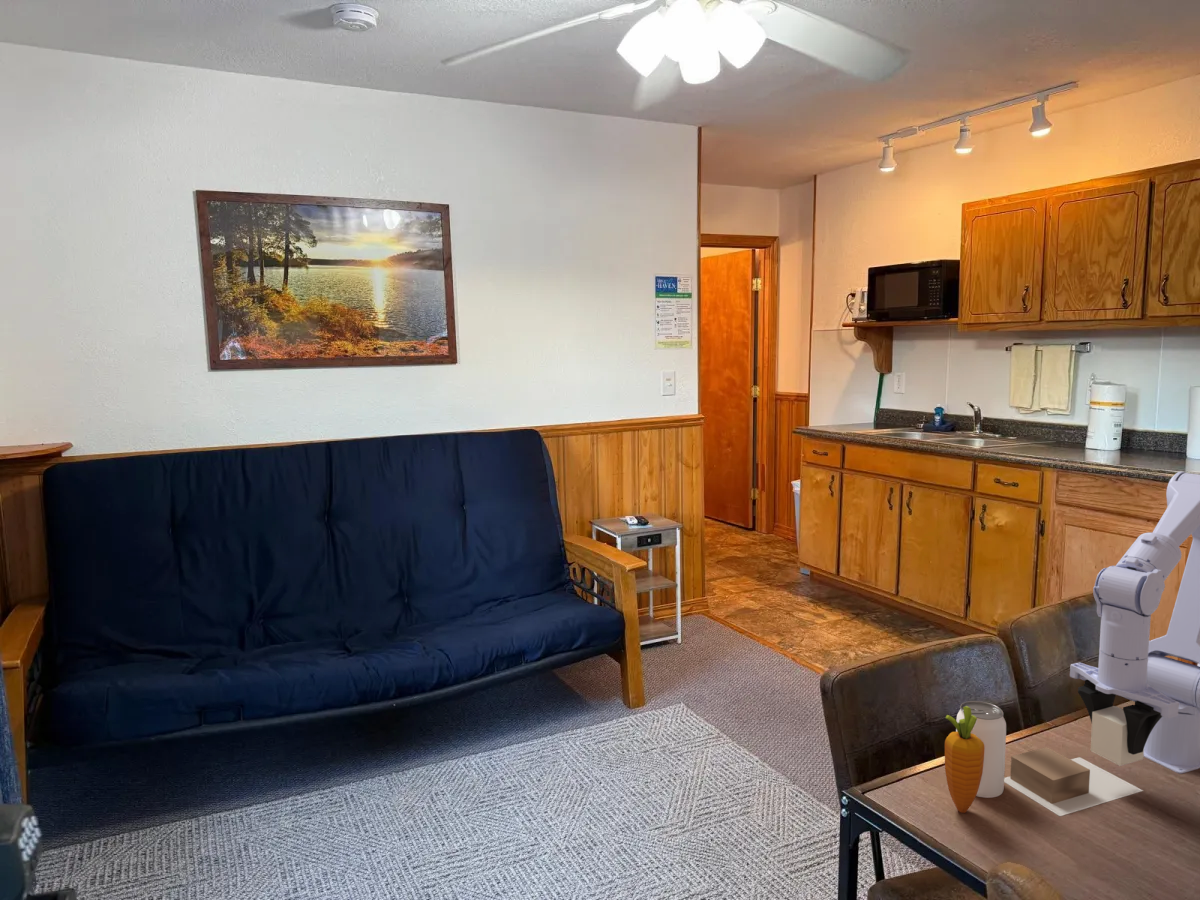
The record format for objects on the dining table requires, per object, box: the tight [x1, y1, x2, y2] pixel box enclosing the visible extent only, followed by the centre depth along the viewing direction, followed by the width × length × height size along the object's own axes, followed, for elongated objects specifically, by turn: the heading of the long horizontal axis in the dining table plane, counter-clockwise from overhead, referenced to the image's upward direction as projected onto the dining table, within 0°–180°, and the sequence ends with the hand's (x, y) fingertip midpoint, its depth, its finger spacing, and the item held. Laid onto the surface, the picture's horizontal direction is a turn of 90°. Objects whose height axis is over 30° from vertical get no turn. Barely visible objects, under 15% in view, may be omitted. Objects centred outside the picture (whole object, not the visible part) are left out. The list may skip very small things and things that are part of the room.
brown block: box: [1010, 746, 1090, 804], centre depth 114 cm, size 7×7×4 cm
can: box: [955, 700, 1007, 799], centre depth 115 cm, size 6×6×12 cm
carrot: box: [944, 706, 985, 814], centre depth 108 cm, size 5×5×15 cm
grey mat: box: [1004, 757, 1144, 817], centre depth 115 cm, size 16×10×1 cm, turn 110°
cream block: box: [1090, 705, 1144, 767], centre depth 113 cm, size 4×4×6 cm
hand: (1117, 743), depth 113 cm, fingers closed on cream block, 4 cm apart
